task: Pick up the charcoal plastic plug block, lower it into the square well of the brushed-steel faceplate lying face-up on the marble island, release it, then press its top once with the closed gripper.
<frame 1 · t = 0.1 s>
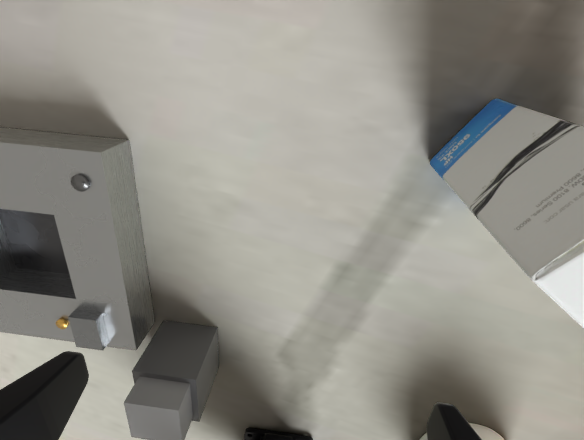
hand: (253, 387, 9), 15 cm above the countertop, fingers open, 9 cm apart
ink box: (505, 175, 20), on the countertop
faceplate: (51, 232, 25), on the countertop
cup: (458, 434, 31), on the countertop
plug: (192, 343, 29), on the countertop
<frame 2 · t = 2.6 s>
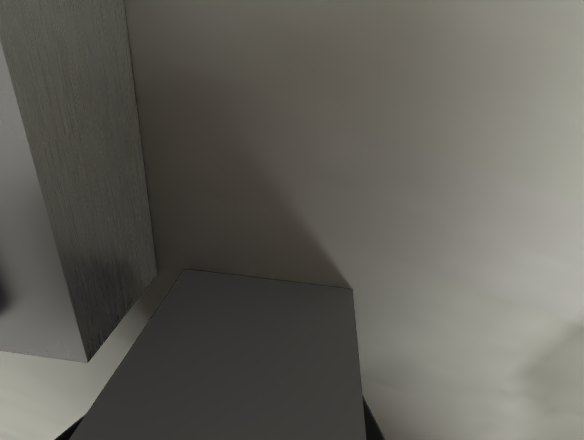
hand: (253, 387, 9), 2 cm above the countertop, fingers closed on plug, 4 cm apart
plug: (264, 341, 10), on the countertop, touching gripper
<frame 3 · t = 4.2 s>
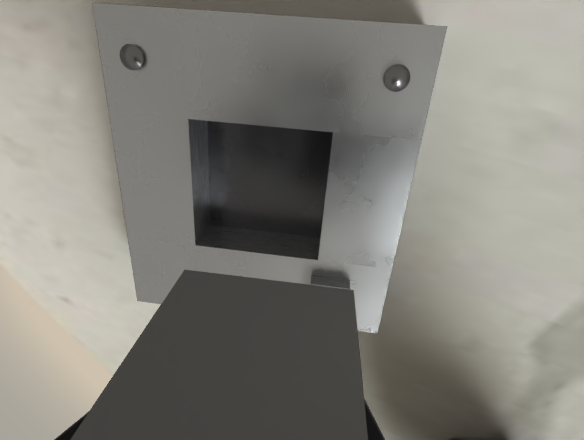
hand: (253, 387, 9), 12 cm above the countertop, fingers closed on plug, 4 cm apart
faceplate: (268, 175, 19), on the countertop
plug: (264, 342, 10), point 11 cm above the countertop, touching gripper
when the fingers open (3 cm above the countertop, at t = 5.9 s): plug drops 1 cm, resting on faceplate.
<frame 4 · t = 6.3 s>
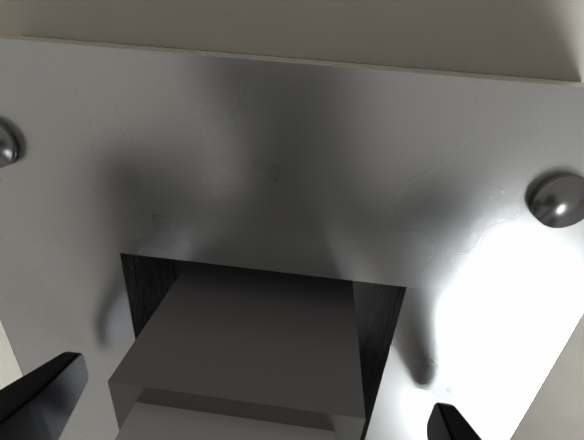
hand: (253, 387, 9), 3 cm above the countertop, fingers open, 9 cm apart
faceplate: (273, 298, 12), on the countertop
plug: (271, 307, 11), resting on faceplate
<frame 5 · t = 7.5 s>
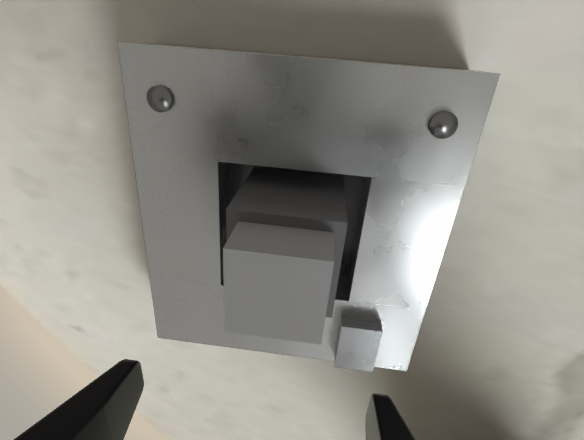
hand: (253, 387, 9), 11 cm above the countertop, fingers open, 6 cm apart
faceplate: (294, 210, 19), on the countertop
plug: (294, 213, 18), resting on faceplate
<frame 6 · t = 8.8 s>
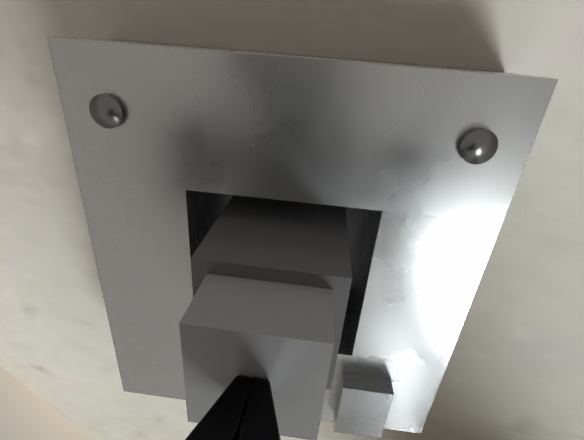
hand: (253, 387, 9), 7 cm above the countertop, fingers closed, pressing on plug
faceplate: (286, 241, 15), on the countertop
plug: (285, 246, 15), resting on faceplate, touching gripper
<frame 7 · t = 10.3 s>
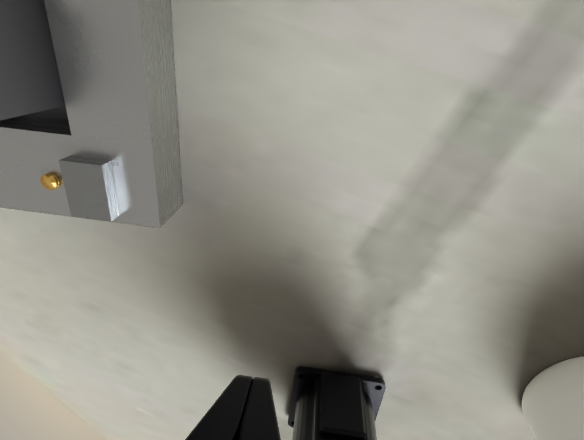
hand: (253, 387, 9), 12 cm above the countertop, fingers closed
faceplate: (35, 48, 17), on the countertop
plug: (28, 47, 16), resting on faceplate
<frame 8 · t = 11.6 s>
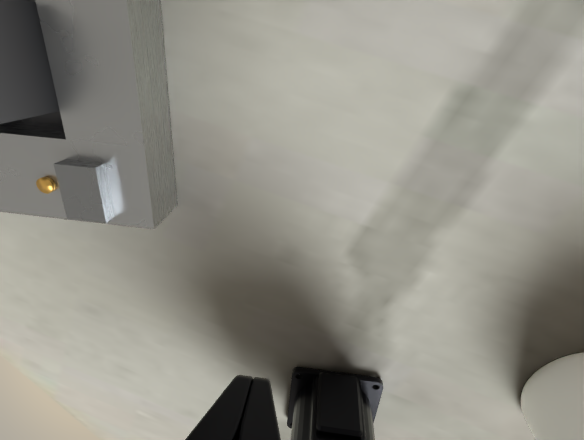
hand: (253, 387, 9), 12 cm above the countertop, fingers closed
faceplate: (31, 55, 17), on the countertop
cup: (583, 370, 23), on the countertop
plug: (24, 55, 17), resting on faceplate
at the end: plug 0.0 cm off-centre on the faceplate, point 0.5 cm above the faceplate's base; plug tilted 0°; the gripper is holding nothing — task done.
